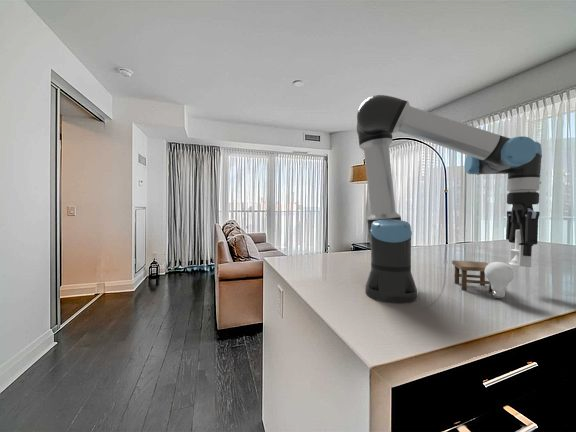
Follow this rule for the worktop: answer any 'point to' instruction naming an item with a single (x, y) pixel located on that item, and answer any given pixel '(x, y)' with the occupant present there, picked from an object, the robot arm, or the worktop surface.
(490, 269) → the light bulb
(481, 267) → the small wooden table
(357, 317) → the worktop surface
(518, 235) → the candle
